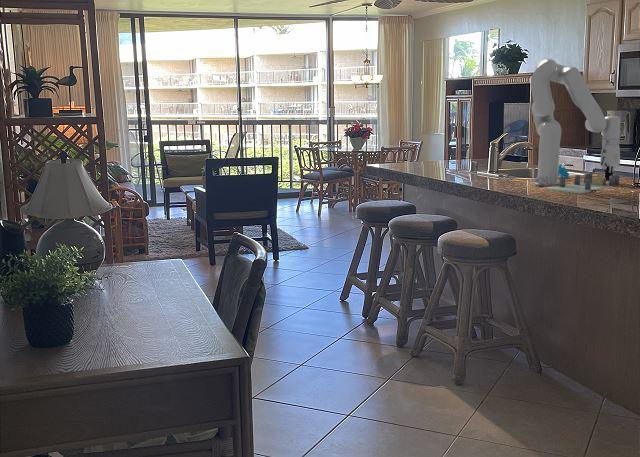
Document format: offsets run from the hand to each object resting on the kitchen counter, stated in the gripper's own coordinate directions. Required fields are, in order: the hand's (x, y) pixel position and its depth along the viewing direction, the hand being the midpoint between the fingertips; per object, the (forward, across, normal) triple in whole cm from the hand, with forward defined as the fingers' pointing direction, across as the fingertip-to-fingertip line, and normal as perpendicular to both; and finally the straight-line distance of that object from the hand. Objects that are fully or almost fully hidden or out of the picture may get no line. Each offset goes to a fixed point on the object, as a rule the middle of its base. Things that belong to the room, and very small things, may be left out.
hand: (608, 180), depth 330 cm
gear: (+2, +10, +32) cm, 34 cm away
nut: (+1, -8, 0) cm, 8 cm away
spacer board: (+2, -19, +1) cm, 19 cm away
